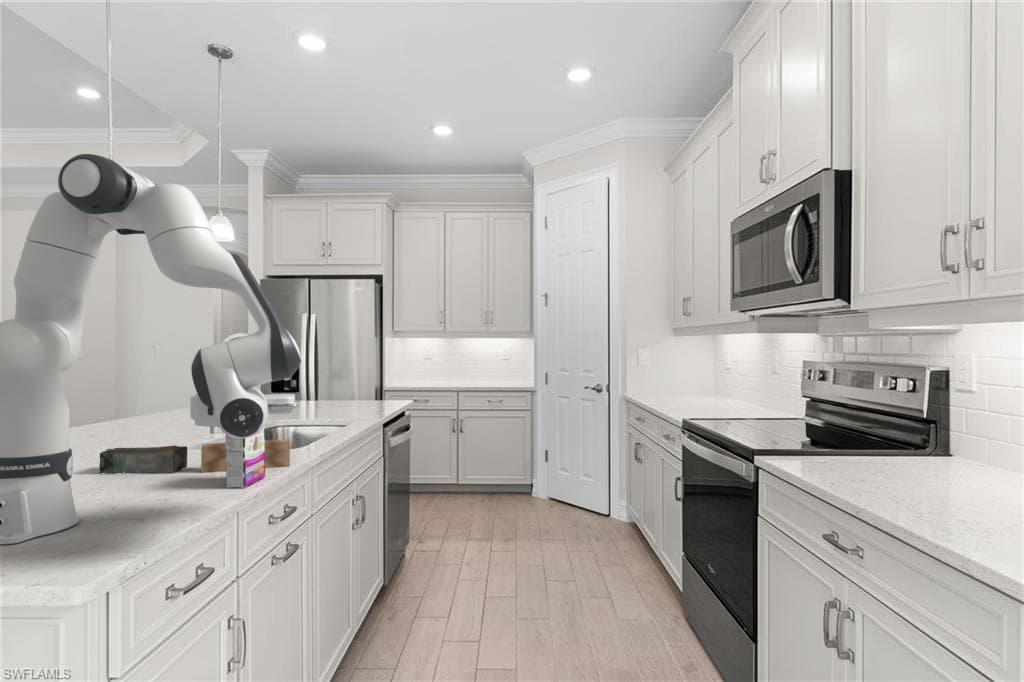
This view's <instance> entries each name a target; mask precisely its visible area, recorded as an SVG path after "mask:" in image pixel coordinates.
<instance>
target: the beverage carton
mask: <svg viewBox="0 0 1024 682" xmlns="http://www.w3.org/2000/svg"><path fill="white" fill-rule="evenodd" d="M186 467H187V468H188V446H181V445H180V446H179V445H176V444H175V445H168V446H167V445H166V446H158V447H157V446H153V447H151V446H150V447H115V448H114V447H113V448H107V449H105V450H104V451H102V452H100V453H99V474H100V473H123V472H124V473H149V474H174V473H177V472H179V470H180V471H182V470H184V469H187V468H186ZM183 468H184V469H183ZM181 469H182V470H181Z"/></svg>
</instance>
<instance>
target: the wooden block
mask: <svg viewBox="0 0 1024 682" xmlns="http://www.w3.org/2000/svg"><path fill="white" fill-rule="evenodd" d="M290 440H291V439H289V438H287V439H284V438H283V439H269V440H268V439H267V440H266V439H265V469H270V468H271V469H272V468H285V467H290V466H291V465H290V464H291V463H290V462H291V461H290V460H291V458H290V457H291V441H290ZM200 449H201V452H200V455H201V460H200V461H201V464H200V471H201V472H205V473H215V472H217V473H219V472H226V442H216V443H215V442H214V443H202V445H201V448H200ZM201 472H200V473H201Z"/></svg>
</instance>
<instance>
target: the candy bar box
mask: <svg viewBox="0 0 1024 682" xmlns="http://www.w3.org/2000/svg"><path fill="white" fill-rule="evenodd" d="M265 428H266V425H265V426H264V427H263V429H262V430H260V431H259V432H258V433H257V434H255V435H254V436H251V437H249V438H241V439H239V438H233V437H230V436H228V435H226V434H225V443H226V471H225V486H226V487H225V488H226V489H246V488H248V487H250V486H251V485H253V484H255V483H257V482H259V481H261V480H263V479H264V478H265V477H266V468H265V440H266V439H265V438H266V434H265V433H266V431H265V430H266V429H265Z"/></svg>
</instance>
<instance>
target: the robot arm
mask: <svg viewBox="0 0 1024 682" xmlns="http://www.w3.org/2000/svg"><path fill="white" fill-rule="evenodd" d="M57 185H58V189H59V191H55V192H52V193H51V194H48V195H47V196H46V197H45V198H44V200H43V202H41V204H40V206H39V208H38V210H37V212H36V214H35V215H34V218H33V220H32V222H31V224H30V227H29V229H28V232H27V235H26V238H25V241H24V245H23V248H22V251H21V255H20V258H19V261H18V265H17V268H16V272H15V275H14V277H13V285H14V288H15V313H14V318H11V319H6V320H2V321H0V545H10V544H11V545H12V544H18V543H21V542H24V541H27V540H30V539H34V538H36V537H40V536H45V535H49V534H53V533H57V532H60V531H63V530H65V529H68V528H71V527H73V526H74V525H76V524H78V523H79V522H80V518H79V515H78V513H77V509H76V506H75V505H76V504H75V503H74V497H73V491H72V485H71V484H72V483H71V482H72V481H71V479H72V476H73V472H74V471H73V469H74V456H73V449H72V448H70V422H71V421H70V420H71V419H70V417H71V416H70V415H71V414H70V406H69V405H68V402H67V400H66V396H65V392H64V388H63V382H62V377H61V375H62V374H63V373H64V372H66V371H68V370H69V369H70V368H71V367H72V366H74V364H76V363H77V362H78V359H79V358H80V356H81V353H82V336H83V330H84V323H85V311H86V303H87V296H88V292H89V289H90V286H91V281H92V278H93V275H94V272H95V267H96V265H97V261H98V258H99V254H100V249H101V246H102V243H103V240H104V238H105V237H106V236H107V234H108V233H111V232H112V231H116V232H117V233H118V234H119V235H123V236H127V235H128V236H130V235H145V237H146V240H147V243H148V247H149V250H150V252H151V255H152V257H153V259H154V261H155V263H156V266H157V268H158V269H159V271H160V272H161V273H162V274H163V275H164V276H165V277H167V278H168V279H169V280H171V281H173V282H175V283H178V284H180V285H183V286H188V287H194V288H203V289H206V288H208V289H219V290H224V291H228V292H232V293H234V294H236V295H237V296H239V297H240V298H241V300H242V301H243V303H244V305H245V307H246V308H247V309H248V311H249V312H250V315H251V316H252V318H253V320H254V321H255V324H256V325H257V326H258V329H257V330H258V331H256V332H254V333H251V334H247V335H245V336H241V337H238V338H235V339H231V340H227V341H222V342H219V343H215V344H213V345H212V344H211V345H208V346H206V347H202V348H200V349H199V350H198V351H197V352H196V354H195V356H194V358H193V361H192V363H191V366H190V367H191V368H190V369H191V370H190V371H191V377H192V382H193V385H194V386H193V387H194V389H195V391H196V393H195V395H192V396H190V401H189V402H190V405H189V407H190V408H189V409H190V410H189V412H190V413H189V414H190V415H189V416H190V419H192V420H193V421H194V425H195V426H197V427H210V428H211V427H213V428H219V429H220V430H221V431H222V432H223V433H224V434H225V436H226V435H228V436H230V437H233V438H239V439H241V438H249V437H251V436H254V435H255V434H257V433H258V432H259V431H260V430H262V429H263V427H264V426H265V427H266V424H267V421H268V420H269V419H268V418H269V415H285V414H291V413H294V412H295V410H296V408H298V407H299V403H298V402H296V394H293V393H276V394H275V393H274V394H273V393H272V394H270V393H269V394H264V393H263V392H262V391H261V390H260V389H258V388H257V387H260V386H262V385H265V384H268V383H273V382H278V381H282V380H287V379H291V378H292V376H294V374H295V373H296V372H297V371H298V368H299V367H300V365H301V363H302V359H301V357H302V356H301V351H300V349H299V346H298V344H297V342H296V340H295V338H294V337H293V335H291V334H290V332H289V331H288V330H287V329H286V328H285V326H284V324H283V323H282V321H281V320H280V318H279V316H278V314H277V313H276V311H275V309H274V307H273V306H272V304H271V302H270V301H269V299H268V297H267V296H266V294H265V293H264V290H263V289H262V287H261V285H260V284H259V282H258V280H257V279H256V277H255V276H254V275H253V273H252V271H251V269H250V268H249V266H248V265H247V263H246V262H245V261H244V259H242V257H240V256H239V255H238V254H236V253H231V252H229V251H228V250H226V249H224V248H223V247H222V246H221V245H220V244H219V242H218V240H217V239H216V237H215V235H214V232H213V229H212V227H211V223H210V222H209V220H208V217H207V215H206V213H205V211H204V210H203V208H202V206H201V204H200V202H199V201H198V199H197V197H196V195H194V193H193V192H192V191H191V189H189V188H188V187H186V186H185V185H181V184H177V183H170V182H168V183H167V182H166V183H160V184H157V183H155V182H153V181H151V180H150V179H148V177H146V176H144V175H143V174H141V173H140V172H138V171H136V170H133V169H130V168H128V167H126V166H124V165H122V164H119V163H118V162H116V161H115V160H113V159H111V158H109V157H105V156H103V155H102V156H101V155H98V154H91V153H81V154H77V155H75V156H72V157H71V158H70V159H68V160H67V161H66V162H65V163H64V164H63V165H62V167H61V169H60V171H59V174H58V177H57Z"/></svg>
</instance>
